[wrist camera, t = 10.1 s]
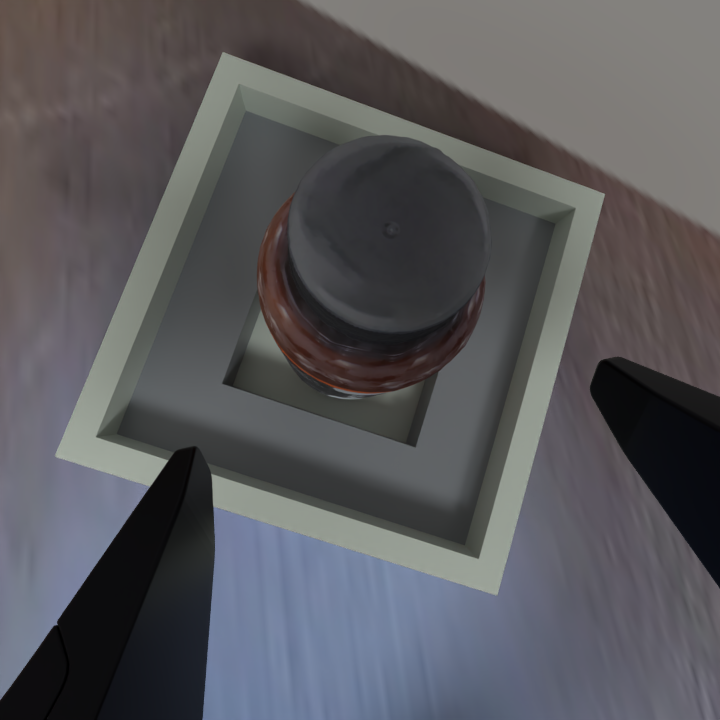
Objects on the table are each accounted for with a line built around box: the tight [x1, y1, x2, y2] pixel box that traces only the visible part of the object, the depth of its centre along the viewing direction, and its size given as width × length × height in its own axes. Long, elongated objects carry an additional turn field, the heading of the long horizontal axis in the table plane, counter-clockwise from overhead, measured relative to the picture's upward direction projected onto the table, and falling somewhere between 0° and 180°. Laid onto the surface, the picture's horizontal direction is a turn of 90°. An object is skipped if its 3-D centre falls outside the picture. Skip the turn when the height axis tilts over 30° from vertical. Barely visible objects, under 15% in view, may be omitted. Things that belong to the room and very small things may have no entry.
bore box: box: [55, 52, 605, 596], centre depth 18 cm, size 16×16×4 cm
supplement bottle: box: [257, 135, 492, 399], centre depth 14 cm, size 6×6×11 cm
